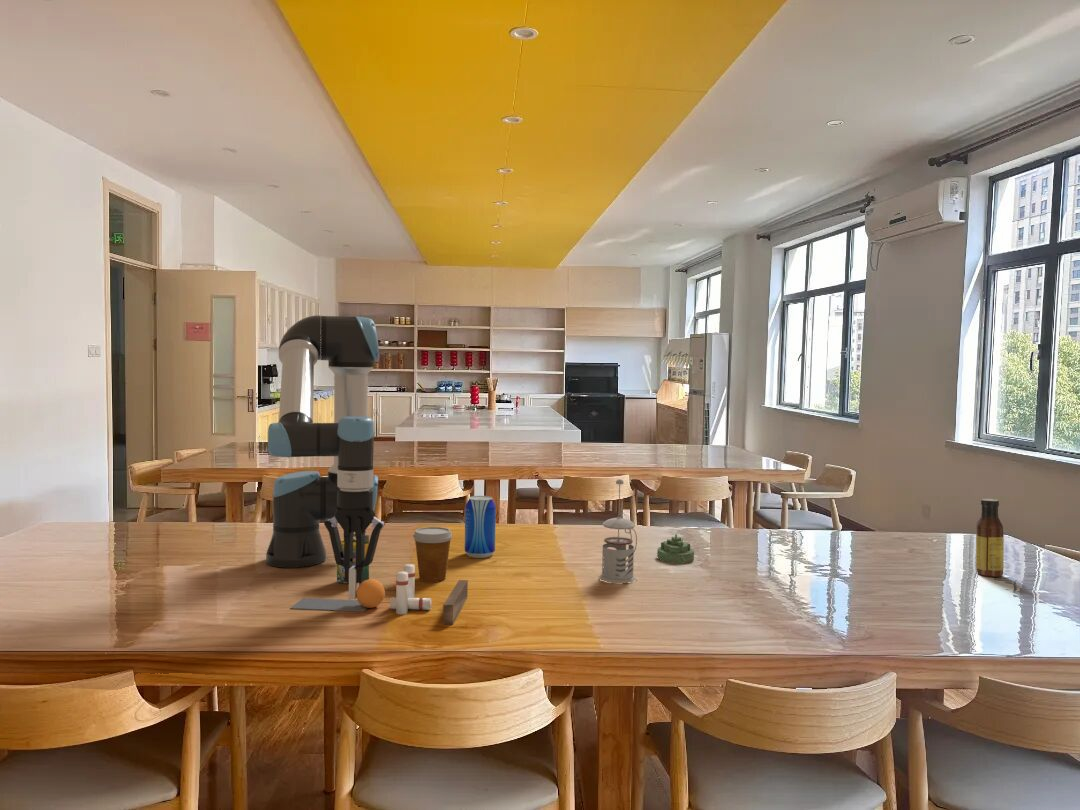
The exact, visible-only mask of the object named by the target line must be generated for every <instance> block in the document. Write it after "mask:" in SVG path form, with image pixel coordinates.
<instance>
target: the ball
mask: <svg viewBox="0 0 1080 810" xmlns="http://www.w3.org/2000/svg"><path fill="white" fill-rule="evenodd" d="M385 594H386V591H385V587H384V585H383V584H382V583H381V581H379V580H377V579H374V578H369V579H368V580H365V581H363V582H362V583H361V584H360V585H359V587H358V589H357V592H356V596H357V598H356V600H358V602H359V603H360V604H361V605H362V606H364V607H367V609H371V608H376V607H377V606H379V605H380V604H382V602H383V600H384V599H385Z"/></svg>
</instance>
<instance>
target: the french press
mask: <svg viewBox="0 0 1080 810" xmlns="http://www.w3.org/2000/svg"><path fill="white" fill-rule="evenodd" d="M615 485H618V486H619V488H618V514H621V513H620V512H621V511H620V510H621V509H620V504H621V498H620V497H621V485H624V480H623V479H622V478H621V479H619V478H618V479H617V480H616V481H615ZM602 526H603V527H604V528H606V529H613V530H617V532H618V533H617V535H618V536H609V537H606V538H604V539H603V542H605V543H604V544H602V553H601V554H602V558H601V559H602V564H601V573H600V575H599V576H598V577H599V578H600V579H601V580H604V581H607V582H611V583H628V582H633V581H634V580H636V578H637V577H636V576H635V575H634V563H635V562H634V560H635V559H634V557H635V555H634V554H635V552H636V550H637V545H638V536H637V533H636V530H635V529H634V528H636V527H635V526H636V524H635V523H634V522H633V521H632V520H630V519H628V518H623V517H621V516H617V517H612V518H609V519H606V520H605V521H603V522H602ZM620 530H624V533H626V534H630V538H628V537H622V536H620ZM627 530H628V531H627ZM632 531H634V534H635V546H634V545H632V543H634V542H633V539H632V538H633V536H632V535H633V534H632ZM627 546H628V548H627ZM611 548H613V549H611ZM626 563H627V564H626ZM611 583H610V584H611Z"/></svg>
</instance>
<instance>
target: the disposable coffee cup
mask: <svg viewBox="0 0 1080 810" xmlns="http://www.w3.org/2000/svg"><path fill="white" fill-rule="evenodd" d="M412 537H413V540H414V543H415V550H416V552H415V553H416V558H417V560H416V561H417V568H418V577H419V578H418V579H419V581H421V582H425V583H438V582H439V581H440V582H442V581H444V580H446V575H447V568H448V560H449V554H450V553H449V552H450V545H451V540H452V538H453V534H452V531H451V529H450V528H448V527H442V526H426V527H419V528H417V529H415V530H414V534H413V536H412Z"/></svg>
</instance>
